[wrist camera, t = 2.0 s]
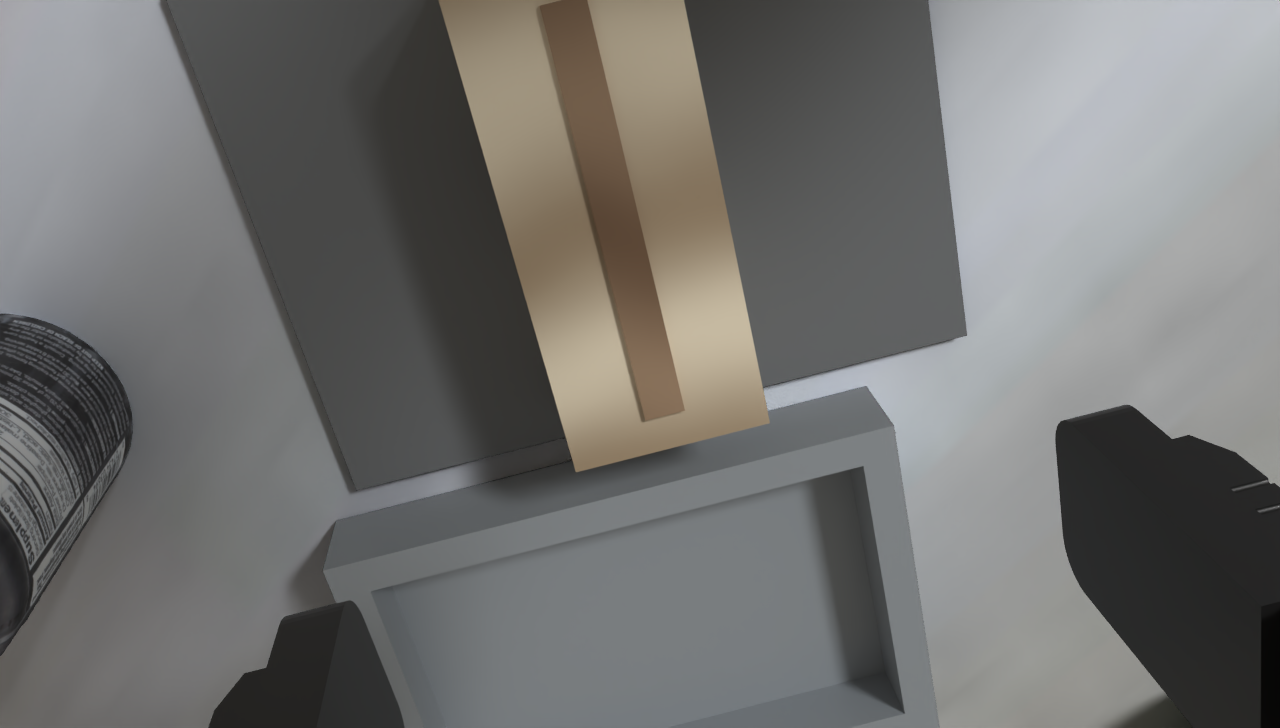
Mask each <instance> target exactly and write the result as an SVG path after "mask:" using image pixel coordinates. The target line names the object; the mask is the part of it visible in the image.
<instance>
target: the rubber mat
mask: <svg viewBox="0 0 1280 728" xmlns="http://www.w3.org/2000/svg"><path fill="white" fill-rule="evenodd" d="M166 1H167V3H168V6H169V9H170V11H171V14H172V16H173V19H174V21H175V24H176V27H177V29H178V32H179V34H180V37H181V39H182V42H183V45H184V47H185V50H186V52H187V55H188V58H189V60H190V63H191V65H192V68H193V70H194V73H195V76H196V78H197V81H198V83H199V86H200V88H201V91H202V94H203V96H204V99H205V101H206V104H207V106H208V109H209V112H210V114H211V117H212V119H213V122H214V125H215V127H216V130H217V132H218V135H219V137H220V140H221V143H222V145H223V148H224V150H225V153H226V155H227V158H228V161H229V163H230V166H231V168H232V171H233V173H234V176H235V179H236V181H237V184H238V186H239V189H240V191H241V194H242V197H243V199H244V202H245V204H246V207H247V210H248V212H249V215H250V217H251V220H252V222H253V225H254V228H255V230H256V233H257V235H258V238H259V240H260V243H261V246H262V248H263V251H264V253H265V256H266V258H267V261H268V264H269V266H270V269H271V271H272V274H273V277H274V279H275V282H276V284H277V287H278V289H279V292H280V295H281V297H282V300H283V302H284V305H285V307H286V310H287V313H288V315H289V318H290V320H291V323H292V325H293V328H294V331H295V333H296V336H297V338H298V341H299V343H300V346H301V349H302V351H303V354H304V356H305V359H306V362H307V364H308V367H309V369H310V372H311V374H312V377H313V380H314V382H315V385H316V387H317V390H318V392H319V395H320V398H321V400H322V403H323V405H324V408H325V410H326V413H327V416H328V418H329V421H330V423H331V426H332V429H333V431H334V434H335V436H336V439H337V441H338V444H339V447H340V449H341V452H342V454H343V457H344V459H345V462H346V465H347V467H348V470H349V472H350V475H351V477H352V480H353V483H354V485H355V488H356V490H360V489H364V488H368V487H372V486H376V485H380V484H384V483H388V482H392V481H396V480H400V479H404V478H408V477H412V476H416V475H419V474H423V473H427V472H431V471H435V470H439V469H443V468H447V467H451V466H455V465H459V464H463V463H467V462H471V461H475V460H479V459H482V458H486V457H490V456H494V455H498V454H502V453H506V452H510V451H514V450H518V449H522V448H526V447H530V446H534V445H538V444H542V443H545V442H549V441H553V440H557V439H561V438H565V437H566V436H565V433H564V429H563V426H562V423H561V419H560V416H559V412H558V409H557V405H556V402H555V399H554V395H553V392H552V388H551V385H550V381H549V378H548V374H547V371H546V368H545V364H544V361H543V357H542V354H541V350H540V347H539V344H538V340H537V337H536V333H535V330H534V326H533V323H532V320H531V316H530V313H529V309H528V306H527V302H526V299H525V295H524V292H523V289H522V285H521V282H520V278H519V275H518V271H517V268H516V265H515V261H514V258H513V254H512V251H511V247H510V244H509V241H508V237H507V234H506V230H505V227H504V223H503V220H502V216H501V213H500V210H499V206H498V203H497V199H496V196H495V192H494V189H493V186H492V182H491V179H490V175H489V172H488V168H487V165H486V161H485V158H484V155H483V151H482V148H481V144H480V141H479V137H478V134H477V131H476V127H475V124H474V120H473V117H472V113H471V110H470V107H469V103H468V100H467V96H466V93H465V89H464V86H463V82H462V79H461V76H460V72H459V69H458V65H457V62H456V58H455V55H454V52H453V48H452V45H451V41H450V38H449V34H448V31H447V28H446V24H445V21H444V17H443V14H442V10H441V7H440V3H439V0H166ZM684 3H685V8H686V13H687V18H688V23H689V28H690V33H691V37H692V42H693V47H694V52H695V57H696V62H697V67H698V72H699V77H700V82H701V87H702V92H703V96H704V101H705V106H706V111H707V116H708V121H709V126H710V131H711V136H712V141H713V146H714V150H715V155H716V160H717V165H718V170H719V175H720V180H721V185H722V190H723V195H724V200H725V204H726V209H727V214H728V219H729V224H730V229H731V234H732V239H733V244H734V249H735V254H736V258H737V263H738V268H739V273H740V278H741V283H742V288H743V293H744V298H745V303H746V308H747V313H748V317H749V322H750V327H751V332H752V337H753V342H754V347H755V352H756V357H757V362H758V367H759V371H760V376H761V381H762V386H763V387H766V386H770V385H774V384H778V383H782V382H786V381H790V380H793V379H797V378H801V377H805V376H809V375H813V374H817V373H821V372H825V371H829V370H833V369H837V368H841V367H845V366H849V365H853V364H856V363H860V362H864V361H868V360H872V359H876V358H880V357H884V356H888V355H892V354H896V353H900V352H904V351H908V350H912V349H916V348H919V347H923V346H927V345H931V344H935V343H939V342H943V341H947V340H951V339H955V338H959V337H963V336H967V331H966V322H965V314H964V305H963V296H962V288H961V279H960V271H959V262H958V253H957V245H956V236H955V228H954V219H953V211H952V202H951V193H950V185H949V176H948V168H947V159H946V151H945V142H944V133H943V125H942V116H941V108H940V99H939V91H938V82H937V73H936V65H935V56H934V48H933V39H932V31H931V22H930V13H929V5H928V0H684Z"/></svg>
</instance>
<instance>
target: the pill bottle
mask: <svg viewBox="0 0 1280 728" xmlns="http://www.w3.org/2000/svg"><path fill="white" fill-rule="evenodd" d="M132 434H133V426H132V413H131V409H130V405H129V401H128V398H127V395H126V393H125V391H124V388H123V386H122V384H121V382H120V380H119V379H118V377H117V375H116V374H115V373H114V371H113V370H112V369H111V367H110V366H109V365H108V364H107V362H106V361H105V360H104V359H103V358H102V357H101V356H100V355H99V354H98V353H97V351H95V350H94V349H93V348H92V347H91V346H89V345H88V344H86V343H85V342H84V341H82V340H81V339H79V338H78V337H76V336H75V335H73V334H71V333H70V332H68V331H66V330H64V329H62V328H59V327H57V326H55V325H53V324H50V323H47V322H44V321H41V320H38V319H35V318H31V317H24V316H18V315H12V314H0V656H1V655H2V654H3V652H4V651H5V649H6V648H7V646H8V645H9V644H10V642H11V641H12V639H13V637H14V636H15V635H16V633H17V632H18V630H19V629H20V627H21V626H22V625H23V624H24V623H25V622H26V620H27V619H28V617H29V615H30V613H31V612H32V610H33V609H34V607H35V605H36V604H37V603H38V601H39V599H40V597H41V595H42V594H43V592H44V591H45V589H46V588H47V586H48V584H49V583H50V581H51V580H52V578H53V576H54V575H55V573H56V572H57V570H58V569H59V567H60V565H61V564H62V562H63V560H64V559H65V557H66V556H67V554H68V553H69V551H70V550H71V548H72V546H73V544H74V543H75V541H76V540H77V538H78V537H79V535H80V533H81V531H82V530H83V528H84V527H85V525H86V524H87V522H88V520H89V518H90V517H91V515H92V514H93V512H94V511H95V509H96V507H97V506H98V504H99V503H100V501H101V500H102V498H103V497H104V495H105V493H106V492H107V490H108V489H109V487H110V485H111V484H112V483H113V481H114V479H115V478H116V476H117V475H118V473H119V471H120V469H121V467H122V465H123V463H124V461H125V459H126V457H127V454H128V451H129V449H130V446H131V440H132Z"/></svg>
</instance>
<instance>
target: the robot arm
mask: <svg viewBox="0 0 1280 728" xmlns="http://www.w3.org/2000/svg"><path fill="white" fill-rule="evenodd" d="M1056 454H1057V466H1058V478H1059V491H1060V503H1061V515H1062V527H1063V538H1064V544H1065V549H1066V553H1067V556H1068V560H1069V563H1070V565H1071V568H1072V571H1073V573H1074V575H1075V577H1076V579H1077V581H1078V583H1079V585H1080V587H1081V588H1082V590H1083V591H1084V593H1085V594H1086V595H1087V596H1088V598H1089V599H1090V600H1091V601H1092V603H1093V604H1094V605H1095V606H1096V608H1097V609H1098V610H1099V611H1100V613H1101V614H1102V615H1103V616H1104V617H1105V619H1106V620H1107V621H1108V622H1109V624H1110V625H1111V626H1112V627H1113V629H1114V630H1115V631H1116V632H1117V634H1118V635H1119V636H1120V637H1121V638H1122V640H1123V641H1124V642H1125V643H1126V645H1127V646H1128V647H1129V648H1130V650H1131V651H1132V652H1133V653H1134V655H1135V656H1136V657H1137V658H1138V659H1139V661H1140V662H1141V663H1142V664H1143V666H1144V667H1145V668H1146V669H1147V671H1148V672H1149V673H1150V674H1151V676H1152V677H1153V678H1154V679H1155V680H1156V682H1157V683H1158V684H1159V685H1160V687H1161V688H1162V689H1163V690H1164V692H1165V693H1166V694H1167V695H1168V697H1169V698H1170V699H1171V700H1172V701H1173V703H1174V704H1175V705H1176V706H1177V708H1178V709H1179V710H1180V711H1181V713H1182V714H1183V715H1184V716H1185V718H1186V719H1187V720H1188V721H1189V722H1190V724H1191V725H1192V726H1193V727H1194V728H1280V487H1279V486H1277V485H1276V484H1275V483H1273V484H1270V483H1269V481H1268V478H1267V477H1266V476H1265V475H1263V474H1262V473H1261V472H1260V471H1258V470H1257V469H1256V468H1255V467H1253V466H1252V465H1251V464H1249V463H1248V462H1247V461H1246V460H1244V459H1243V458H1242V457H1241V456H1239V455H1238V454H1237V453H1236V452H1233V451H1230V450H1228V449H1225V448H1222V447H1220V446H1217V445H1214V444H1212V443H1209V442H1206V441H1204V440H1201V439H1198V438H1196V437H1193V436H1190V435H1187V436H1183V437H1179V438H1175V439H1171V438H1170V437H1169V436H1168V435H1166V434H1165V433H1164V432H1163V431H1162V430H1160V429H1159V428H1158V427H1157V426H1156V425H1154V424H1153V423H1152V422H1151V421H1150V420H1149V419H1147V418H1146V417H1145V416H1144V415H1143V414H1141V413H1140V412H1139V411H1138V410H1137V409H1135V408H1134V407H1132V406H1130V405H1122V406H1119V407H1115V408H1111V409H1107V410H1103V411H1099V412H1095V413H1091V414H1087V415H1083V416H1079V417H1075V418H1071V419H1067V420H1063V421H1061V422H1060V423H1059V424H1058V426H1057V430H1056ZM209 728H405V727H404V722H403V718H402V714H401V711H400V708H399V705H398V702H397V700H396V697H395V695H394V692H393V690H392V687H391V685H390V682H389V680H388V677H387V675H386V672H385V670H384V667H383V665H382V663H381V660H380V658H379V655H378V653H377V650H376V648H375V645H374V643H373V640H372V638H371V635H370V633H369V630H368V628H367V625H366V623H365V620H364V618H363V616H362V613H361V612H360V610H359V608H358V607H357V605H356V604H355V603H354V602H353V601H351V600H348V601H344V602H340V603H336V604H332V605H328V606H324V607H320V608H317V609H313V610H309V611H305V612H301V613H297V614H293V615H289V616H286V617H284V618H283V619H282V621H281V623H280V625H279V628H278V632H277V635H276V638H275V641H274V645H273V648H272V651H271V655H270V658H269V661H268V664H267V668H264V669H260V670H256V671H252V672H248V673H244V675H243V676H242V677H241V678H240V680H239V681H238V682H237V683H236V685H235V686H234V687H233V688H232V689H231V691H230V692H229V693H228V694H227V696H226V697H225V698H224V699H223V701H222V702H221V703H220V704H219V706H218V707H217V708H216V709H215V710H214V713H213V716H212V719H211V722H210V725H209Z"/></svg>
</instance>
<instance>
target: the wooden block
mask: <svg viewBox="0 0 1280 728" xmlns="http://www.w3.org/2000/svg"><path fill="white" fill-rule="evenodd" d="M439 3H440V7H441V10H442V14H443V17H444V21H445V24H446V28H447V31H448V34H449V38H450V41H451V45H452V48H453V52H454V55H455V58H456V62H457V65H458V69H459V72H460V76H461V79H462V82H463V86H464V89H465V93H466V96H467V100H468V103H469V107H470V110H471V113H472V117H473V120H474V124H475V127H476V131H477V134H478V137H479V141H480V144H481V148H482V151H483V155H484V158H485V161H486V165H487V168H488V172H489V175H490V179H491V182H492V186H493V189H494V192H495V196H496V199H497V203H498V206H499V210H500V213H501V216H502V220H503V223H504V227H505V230H506V234H507V237H508V241H509V244H510V247H511V251H512V254H513V258H514V261H515V265H516V268H517V271H518V275H519V278H520V282H521V285H522V289H523V292H524V295H525V299H526V302H527V306H528V309H529V313H530V316H531V320H532V323H533V326H534V330H535V333H536V337H537V340H538V344H539V347H540V350H541V354H542V357H543V361H544V364H545V368H546V371H547V374H548V378H549V381H550V385H551V388H552V392H553V395H554V399H555V402H556V405H557V409H558V412H559V416H560V419H561V423H562V426H563V429H564V433H565V436H566V440H567V443H568V447H569V450H570V454H571V457H572V460H573V464H574V467H575V471H576V472H580V471H584V470H588V469H592V468H595V467H599V466H603V465H607V464H611V463H615V462H619V461H623V460H627V459H631V458H635V457H639V456H643V455H647V454H651V453H655V452H658V451H662V450H666V449H670V448H674V447H678V446H682V445H686V444H690V443H694V442H698V441H702V440H706V439H710V438H714V437H717V436H721V435H725V434H729V433H733V432H737V431H741V430H745V429H749V428H753V427H757V426H761V425H765V424H769V423H770V421H769V416H768V411H767V406H766V401H765V396H764V391H763V386H762V381H761V376H760V371H759V367H758V362H757V357H756V352H755V347H754V342H753V337H752V332H751V327H750V322H749V317H748V313H747V308H746V303H745V298H744V293H743V288H742V283H741V278H740V273H739V268H738V263H737V258H736V254H735V249H734V244H733V239H732V234H731V229H730V224H729V219H728V214H727V209H726V204H725V200H724V195H723V190H722V185H721V180H720V175H719V170H718V165H717V160H716V155H715V150H714V146H713V141H712V136H711V131H710V126H709V121H708V116H707V111H706V106H705V101H704V96H703V92H702V87H701V82H700V77H699V72H698V67H697V62H696V57H695V52H694V47H693V42H692V37H691V33H690V28H689V23H688V18H687V13H686V8H685V3H684V0H439Z"/></svg>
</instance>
